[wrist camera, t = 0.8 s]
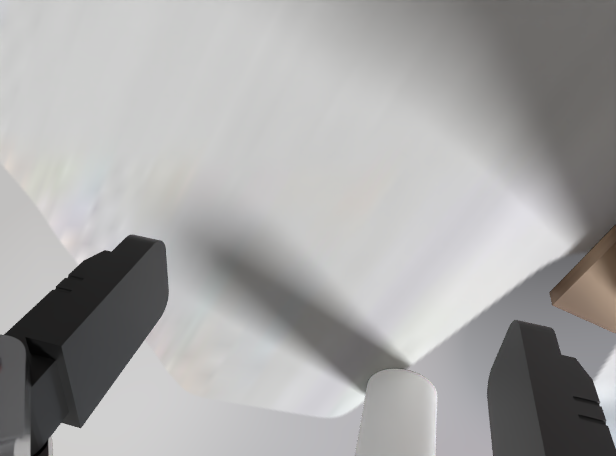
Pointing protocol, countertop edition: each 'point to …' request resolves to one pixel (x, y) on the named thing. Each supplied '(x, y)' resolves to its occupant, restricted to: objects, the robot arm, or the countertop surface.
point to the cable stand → (591, 285)
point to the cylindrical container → (398, 415)
